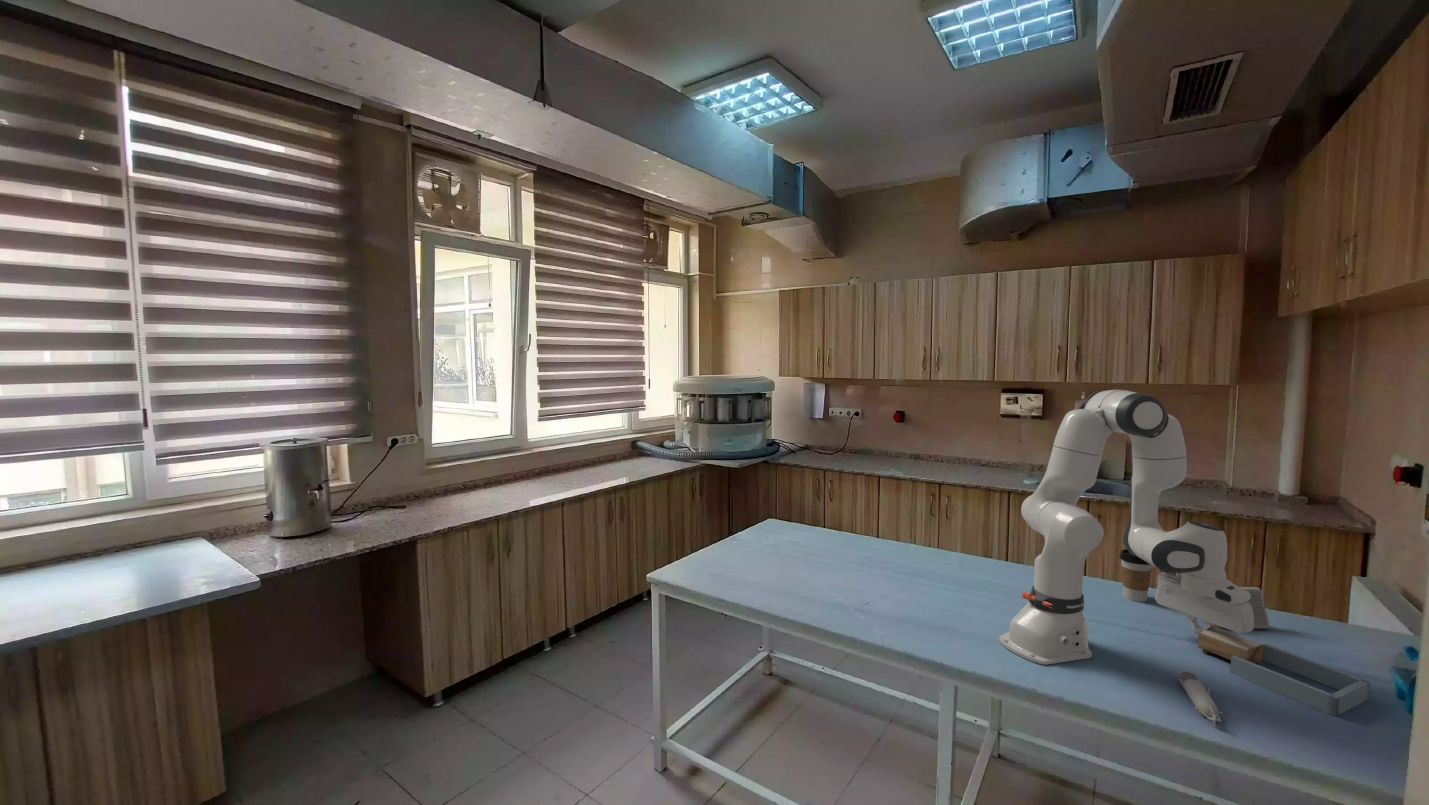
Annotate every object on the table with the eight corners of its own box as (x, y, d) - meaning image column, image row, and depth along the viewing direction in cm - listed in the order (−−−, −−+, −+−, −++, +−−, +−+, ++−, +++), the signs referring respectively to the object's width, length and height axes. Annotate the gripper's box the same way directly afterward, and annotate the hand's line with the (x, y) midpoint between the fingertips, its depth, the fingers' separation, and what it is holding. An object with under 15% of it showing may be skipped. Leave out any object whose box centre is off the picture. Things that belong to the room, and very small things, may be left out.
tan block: (1246, 671, 134) (1247, 650, 133) (1197, 651, 143) (1198, 631, 142) (1262, 664, 136) (1263, 644, 136) (1213, 645, 146) (1214, 626, 145)
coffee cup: (1157, 604, 169) (1159, 557, 168) (1126, 602, 171) (1128, 555, 170) (1142, 592, 177) (1144, 547, 176) (1113, 591, 179) (1114, 546, 178)
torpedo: (1172, 680, 132) (1173, 653, 131) (1197, 684, 130) (1198, 657, 129) (1200, 726, 115) (1201, 697, 115) (1230, 732, 113) (1231, 702, 113)
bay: (1335, 716, 117) (1336, 698, 116) (1230, 672, 134) (1231, 656, 133) (1369, 699, 122) (1370, 682, 122) (1264, 658, 139) (1264, 643, 138)
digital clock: (1204, 628, 154) (1205, 591, 153) (1188, 614, 163) (1189, 579, 162) (1278, 636, 149) (1280, 598, 148) (1257, 621, 158) (1259, 585, 157)
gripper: (1151, 571, 152) (1149, 619, 154) (1244, 601, 134) (1241, 655, 135) (1165, 567, 155) (1163, 615, 156) (1259, 596, 136) (1256, 649, 137)
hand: (1200, 634), depth 145 cm, fingers closed
